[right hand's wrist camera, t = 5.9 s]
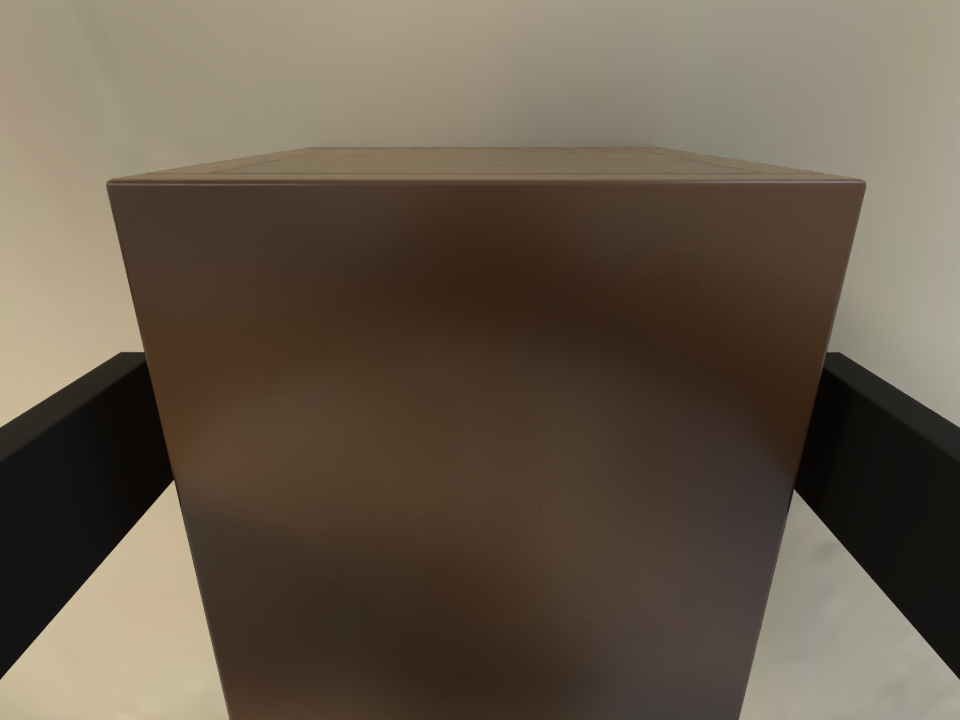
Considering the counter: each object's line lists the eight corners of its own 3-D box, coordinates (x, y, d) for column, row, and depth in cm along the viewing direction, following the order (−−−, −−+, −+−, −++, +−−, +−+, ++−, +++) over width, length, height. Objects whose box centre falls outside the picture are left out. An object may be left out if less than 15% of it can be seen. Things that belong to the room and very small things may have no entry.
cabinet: (604, 647, 25) (680, 971, 15) (360, 646, 25) (286, 970, 15) (658, 147, 17) (871, 179, 8) (308, 147, 17) (101, 179, 8)
